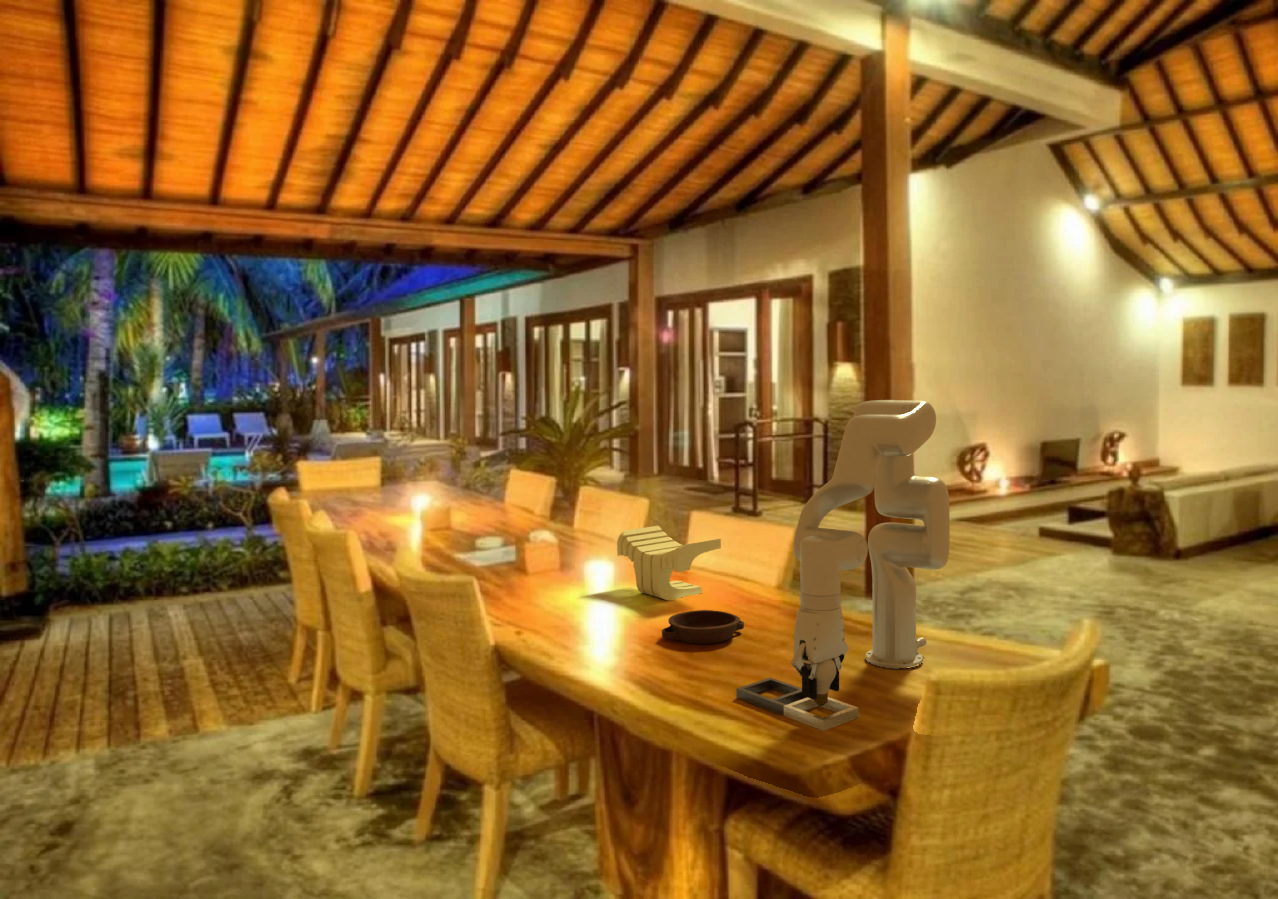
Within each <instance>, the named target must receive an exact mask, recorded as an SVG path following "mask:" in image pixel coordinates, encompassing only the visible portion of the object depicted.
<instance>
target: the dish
mask: <svg viewBox="0 0 1278 899" xmlns="http://www.w3.org/2000/svg"><path fill="white" fill-rule="evenodd" d="M668 624H669V626H668V627H665V628H663V629H661V637H662V638H663V639H667V640H679V641H681V642H683V643H687V644H694V645H695V644H697V645H710V644H712V645H713V644H718V643H722V642H725V641H728V640H729V639H730V638H732V637H733V636H734V633H735V632H737V631H740V630H743V629H744V628H745V622H744V621H743V620H741V619H740V617H739V616H738V615H736V614H733V613H730V612H726V611H722V610H713V609H710V610H709V609H698V610H689V611H688V610H687V611H684V612H679V613H676V614H674V615H673V614H672V615H671V616H670V617H669V618H668Z"/></svg>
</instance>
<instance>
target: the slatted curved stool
mask: <svg viewBox="0 0 1278 899" xmlns="http://www.w3.org/2000/svg"><path fill="white" fill-rule="evenodd" d="M721 543H722V539H721V538H716V539H712V540H711V539H710V540H704V541H698V542H692V543H687V544H682V543H679V542H678V541H676V540H674V539H673V538H671V537H670V536H668V534H667V533H666V532H665V531H663V529H662V528H661V526H659V525H654V526H647V527H646V526H645V527H641V528H634V529H626V530H624V531H622V532H621V533H620V534H619V535H618V537H617V541H616V545H617V547H616V549H617V557H619V556H622V557H623V556H624V557H627V558H628V559H629V561H630V562H631V563H632V562H633V569H634V570H633V571H634V574H635V581H636V587H637V590H638V592H640V593H644V594H646V595H649V596H653V597H656V598H659V599H662V600H666V601H675V600H678V599H677V598H679V599H682V598H681V597H684V596H688V595H694V596H697V595H696V594H699V595H701V594H700V593H704V592H703V590H702V587H701V586H700V585H696V584H693V583H689V582H686V581H685V582H684V581H681V580H672V581H670V579H671V576H672V573H673V571H675V572H677V573H682V572H687V571H691V567H692V563H693V562H694V560H695V559H696V558H697V557H699V556H700V555H702V554H704V553H708V552H711V551H715V550H718V549H721V548H722V546H721V545H722V544H721ZM684 598H685V597H684ZM674 599H675V600H674Z"/></svg>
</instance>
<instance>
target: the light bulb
mask: <svg viewBox="0 0 1278 899" xmlns="http://www.w3.org/2000/svg"><path fill="white" fill-rule="evenodd" d="M808 660H809V658H808ZM810 666H811V665H810V664H808V665H807V668H808V669H809V670H810ZM835 676H836V666H835V663H834V661H833V660H832V659H829V660H826V661H823V662H820V663H817V667H816V672H815V676H814V678H816V679H817V698H816V699H814V702H815V703H817V704H818V705H819V706H818V707H820V706H823V705H824V704H826V703H827V702H828V697H829V696H828V695H829V691H830V689H829V688H830V684H831V683H832V681H833V680H834V678H835Z"/></svg>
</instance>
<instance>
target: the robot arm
mask: <svg viewBox="0 0 1278 899" xmlns="http://www.w3.org/2000/svg"><path fill="white" fill-rule="evenodd" d="M936 424H937V415H936V411H935V408H934V407H933V405H932V404H931V403H929V402H927V401H925V400H924V401H923V400H902V399H901V400H895V399H885V400H884V399H880V400H878V399H876V400H867V401H862V402H860V403H859V404H857V405H856V406H855V408H854V412H853V417H852V418H850V419H849V420H848V422H847V423H846V425H845V429H844V431H843V435H842V439H841V444H840V447H839V452H838V454H837V458H836V462H835V467H834V470H833V474H832V477H831V479H830V480H829V481H828V482H827V483H824V485H822V486H821V487H820V488H819V489H818V490H817V491H816V492H815V493H814V494H813V495H812V496H811V497H810V498H809V499H808V500H807V502H806V503H805V504H804V506H803V507H802V510H801V511H800V515H799V519H798V522H797V526H796V530H795V534H794V539H793V554H794V556H795V558H796V559H797V560H798V562H800V563H799V566H800V568H799V572H800V573H799V575H800V578H799V580H800V586H799V587H800V594H799V595H800V598H799V599H800V601H799V602H800V608H799V609H797V613H796V618H795V622H794V635H793V658H792V659H791V661H790V662H791V663H790V664H791V665H792V667H793V668H795V670H796V671H797V672H798V673H799V674H798V676H800V677H801V688H802V695H803V696H805V697H808V698H811V699H816V698H817V679H816V678H814V676H815V672H816V667H817V663H820V662H823V661H826V660H829V659H832V660H833V661H834V663H835V666H836V676H835V678H834V680H833V681H832V683H831V684H830V688H829V690H831V691H834V692H838V691H840V671H841V670H842V667H843V666H842V663H843V661H844V659H845V655H846V654H847V653H848V651H849V648H850V647H849V645H848V644H847V643H846V641H845V624H844V616H843V609H842V606H841V572H842V571H849V570H851V571H852V570H855V569H857V568H859V567H860V566H862V565H863V563H864V562H865V561H866V559H867V557H868V555H869V557H870V558H869V559H870V563H871V576H872V582H871V583H872V594H871V595H872V604H871V605H872V607H871V608H872V609H871V610H872V611H871V612H872V614H871V615H872V626H871V627H872V632H871V633H872V636H871V637H872V644H871V645H872V647H871V648H872V649H869V650H868V651H866V653H865V661H867V663H869V662H870V663H871V664H870V663H869V664H870V665H873V664H874V665H873V666H875V665H877V666H876V667H879V666H880V668H883V667H885V668H884V669H891V668H892V670H900V669H899V668H907V667H911V666H915V665H917V664H920V663H922V661H923V662H924V657H923V655H922V654H921V653H919V652H918V649H919V648H922V647H924V646H926V645H927V639H926V638H925V637H919V638H917V585H916V581H915V579H914V577H913V575H912V574H911V572H910V571H909V569H908V568H913V569H922V570H940V569H942V568H944V567H946V565H947V563H948V560H949V555H950V546H951V545H950V541H951V540H950V539H951V538H950V537H951V536H950V534H951V533H950V532H951V531H950V528H951V527H950V525H951V524H950V495H949V494H950V493H949V490H948V489H949V488H948V487H947V485H946V483H945V482H944V481H943V480H941V479H940V478H938V477H934V476H917V475H915V469H914V468H915V467H914V454H915V452H916V451H918V450H919V449H920V448H921V447H922V446H923V445H925V443H927V441H928V440H930V438H931V437H932V435H933V433H934V431H935V429H936V426H937V425H936ZM873 491H874V504H875V505H874V506H875V509H876V511H877V512H878V514H879V515H880V516H881V515H882V516H884V517H889V518H897V519H904V520H905V519H909V520H920V521H922V523H923V525H922V524H911V523H901V522H881V523H879V524H876V525H874V526H873V527H872V528H871V530H870V531H869V533H868V537H867V538H868V539H867V540H866V538H865V537H864V536H863V535H862V534H861V533H859V532H857V531H854V530H844V529H836V528H827V527H826V528H825V527H819V526H820V524H821V523H822V520H823V519H824V518H825V516H827V515H828V514H829V513H831V512H832V511H833V510H835V509H837V508H839V507H841V506H844V505H846V504H849V503H851V502H854V501H857V500H859V499H862V498H865V497H867V496H869V495H870V494H871V493H872V492H873ZM868 552H869V554H868ZM808 659H809V660H808ZM808 664H810V665H811V666H810V670H809V669H808V668H807V665H808ZM922 664H923V663H922Z"/></svg>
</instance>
